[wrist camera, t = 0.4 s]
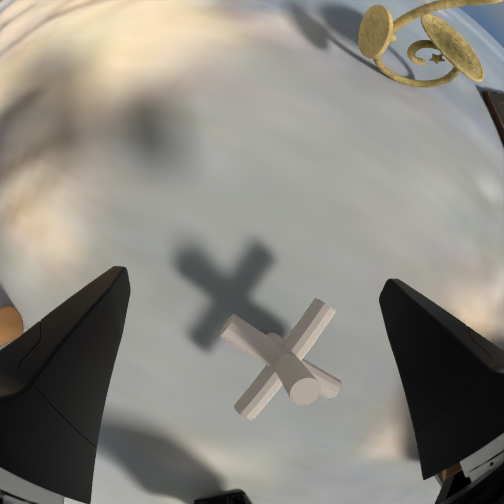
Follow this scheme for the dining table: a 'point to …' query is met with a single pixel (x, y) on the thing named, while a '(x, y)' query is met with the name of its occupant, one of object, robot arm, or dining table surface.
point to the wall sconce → (440, 33)
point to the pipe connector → (283, 361)
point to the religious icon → (496, 109)
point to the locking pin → (10, 324)
